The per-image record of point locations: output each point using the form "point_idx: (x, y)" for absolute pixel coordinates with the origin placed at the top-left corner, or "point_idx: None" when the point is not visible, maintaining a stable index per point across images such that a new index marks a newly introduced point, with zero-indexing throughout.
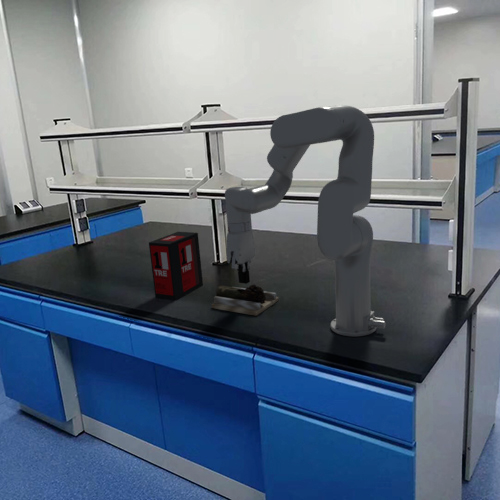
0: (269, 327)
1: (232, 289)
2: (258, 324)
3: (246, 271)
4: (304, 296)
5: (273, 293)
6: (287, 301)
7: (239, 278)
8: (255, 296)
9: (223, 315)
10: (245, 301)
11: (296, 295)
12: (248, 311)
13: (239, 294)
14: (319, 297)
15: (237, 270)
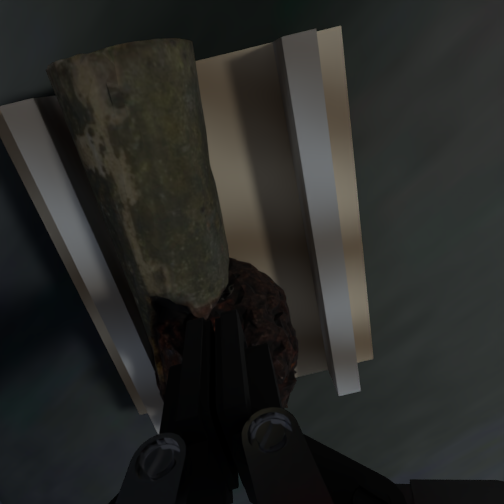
0: (100, 498)
1: (139, 246)
2: (84, 459)
3: (226, 500)
4: (467, 390)
5: (344, 388)
6: (375, 379)
7: (169, 380)
8: None
9: (5, 277)
10: (137, 365)
11: (466, 358)
12: (123, 376)
13: (143, 320)
14: (477, 436)
15: (136, 469)
